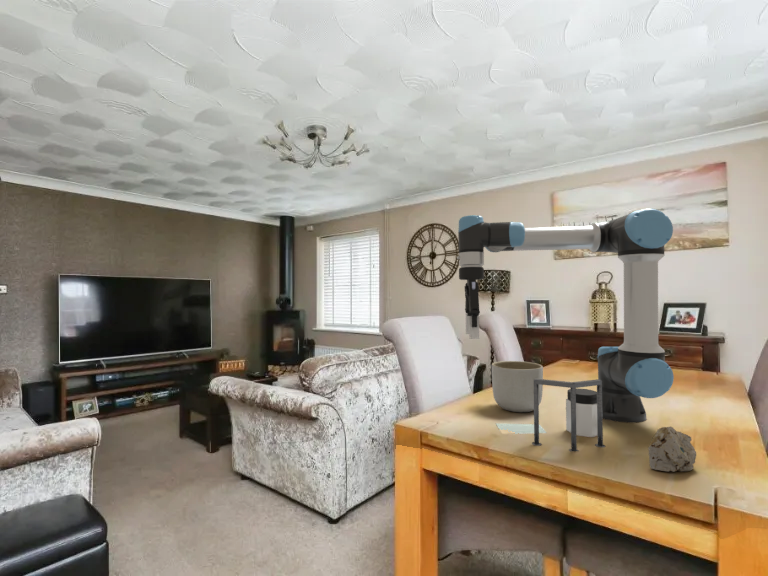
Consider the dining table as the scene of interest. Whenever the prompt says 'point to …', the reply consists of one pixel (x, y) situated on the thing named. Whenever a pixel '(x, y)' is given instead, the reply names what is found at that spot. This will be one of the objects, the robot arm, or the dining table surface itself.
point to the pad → (520, 428)
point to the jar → (583, 412)
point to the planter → (516, 384)
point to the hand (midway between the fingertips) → (472, 336)
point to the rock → (671, 451)
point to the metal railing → (573, 408)
